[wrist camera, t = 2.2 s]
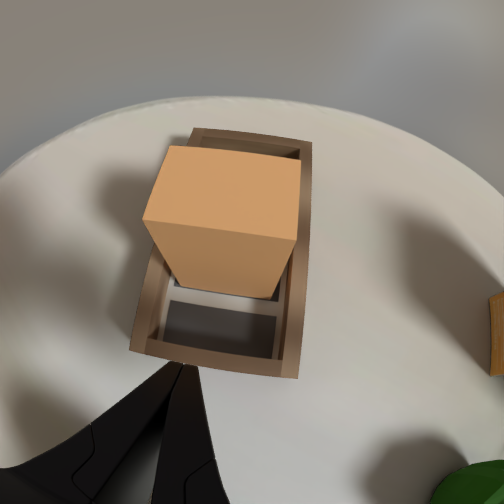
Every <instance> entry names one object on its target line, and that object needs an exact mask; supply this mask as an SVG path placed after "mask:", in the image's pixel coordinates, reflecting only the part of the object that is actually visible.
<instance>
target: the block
mask: <svg viewBox="0 0 504 504" xmlns="http://www.w3.org/2000/svg"><path fill="white" fill-rule="evenodd" d="M300 175H301V160H296V159H290V158H284V157H277V156H270V155H263V154H256V153H248V152H240V151H231V150H222V149H211V148H200V147H187V146H171V145H170V147H169V149H168V152H167V154H166V157H165V159H164V161H163V164H162V166H161V169H160V171H159V174H158V177H157V179H156V182H155V184H154V187H153V190H152V193H151V195H150V198H149V201H148V204H147V206H146V209H145V212H144V215H143V218H142V220H143V222H144V224H145V226H146V227H147V229H148V231H149V233H150V235H151V236H152V238H153V240H154V242H155V243H156V245H157V247H158V249H159V250H160V252H161V254H162V255H163V257H164V259H165V260H166V262H167V264H168V266H169V267H170V269H171V271H172V272H173V274H174V275H175V277H176V279H177V280H178V282H179V284H180V285H181V286H183V287H189V288H195V289H201V290H207V291H213V292H220V293H226V294H233V295H240V296H247V297H254V298H261V299H268V300H270V299H271V297H272V294H273V292H274V290H275V288H276V286H277V283H278V281H279V279H280V277H281V275H282V272H283V270H284V268H285V266H286V263H287V261H288V259H289V257H290V254H291V252H292V250H293V248H294V245H295V243H296V241H297V228H298V212H299V195H300Z"/></svg>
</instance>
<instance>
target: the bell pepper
mask: <svg viewBox="0 0 504 504" xmlns="http://www.w3.org/2000/svg"><path fill="white" fill-rule="evenodd" d="M430 504H504V460H494V461H486V462H480V463H475V464H471V465H469V466H467V467H465V468H461V469H459V470H457V471H456V472H454V473H452V474H450V475H448V476H447V477H446V478H445V479H444V480H443V481H442V483H441V484H440V485H439V486H438V487H437V489H436V491H435V493H434V495H433V497H432V498H431V503H430Z"/></svg>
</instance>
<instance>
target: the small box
mask: <svg viewBox="0 0 504 504" xmlns="http://www.w3.org/2000/svg"><path fill="white" fill-rule="evenodd" d="M489 301H490V311H491V336H492V345H491V369H490V376H501V375H504V291H503V292H501V293H499V294H497V295H495V296H493V297H490V298H489Z"/></svg>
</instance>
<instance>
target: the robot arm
mask: <svg viewBox="0 0 504 504" xmlns="http://www.w3.org/2000/svg"><path fill="white" fill-rule="evenodd" d="M153 486H154V487H153ZM152 489H153V493H152V500H151V504H230V502H229V500H228V497H227V495H226V492H225V490H224V487H223V484H222V481H221V477H220V474H219V470H218V466H217V462H216V459H215V454H214V449H213V445H212V440H211V435H210V430H209V426H208V421H207V415H206V410H205V405H204V399H203V394H202V388H201V382H200V376H199V370H198V367H197V366H195V365H190V364H183V363H180V362H175V361H169V362H168V363H167V364H165V365H164V366H163V367H162V368H160V369H159V370H158V371H157V372H155V373H154V374H153V375H152V376H150V377H149V378H148V379H147V380H145V381H144V382H143V383H142V384H140V385H139V386H138V387H137V388H135V389H134V390H133V391H132V392H130V393H129V394H128V395H126V396H125V397H124V398H123V399H121V400H120V401H119V402H117V403H116V404H115V405H114V406H112V407H111V408H110V409H108V410H107V411H106V412H104V413H103V414H102V415H101V416H99V417H98V418H97V419H95V420H94V421H93V422H91V425H90V424H88V425H87V426H86V427H85V428H83V429H82V430H81V431H79V432H78V433H76V434H75V435H73V436H72V437H70V438H69V439H67V440H66V441H64V442H62V443H61V444H59V445H57V446H56V447H54V448H52V449H50V450H48V451H46V452H44V453H43V454H41V455H39V456H37V457H35V458H33V459H31V460H29V461H27V462H25V463H23V464H20V465H18V466H14V467H10V468H0V504H147V503H148V500H149V497H150V495H151V492H152Z"/></svg>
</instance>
